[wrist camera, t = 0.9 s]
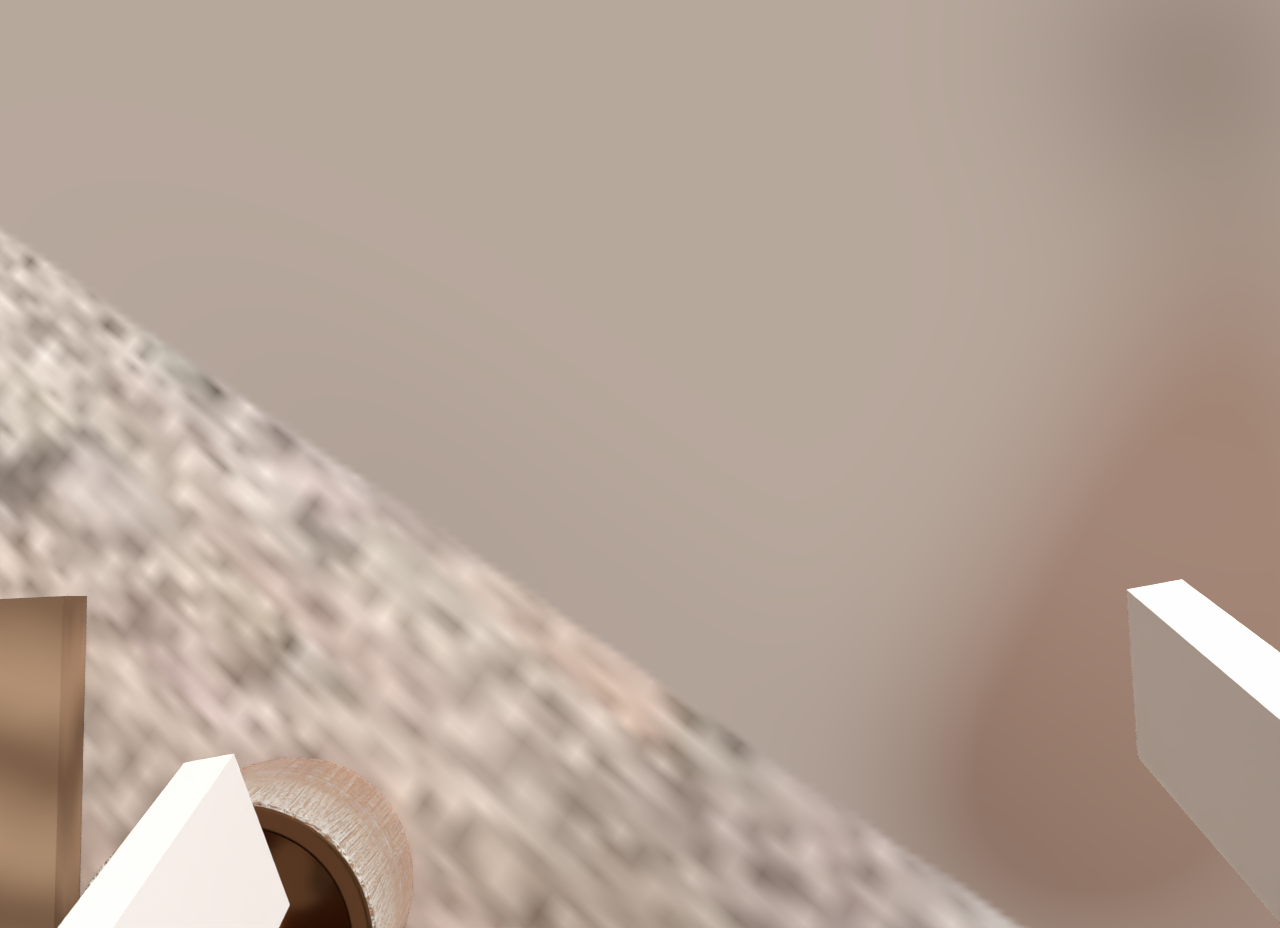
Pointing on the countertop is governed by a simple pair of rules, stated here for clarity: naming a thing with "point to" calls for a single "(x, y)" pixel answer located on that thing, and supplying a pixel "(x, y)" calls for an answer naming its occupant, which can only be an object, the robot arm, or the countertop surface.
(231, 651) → the countertop surface
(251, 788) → the planter
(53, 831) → the fader board
